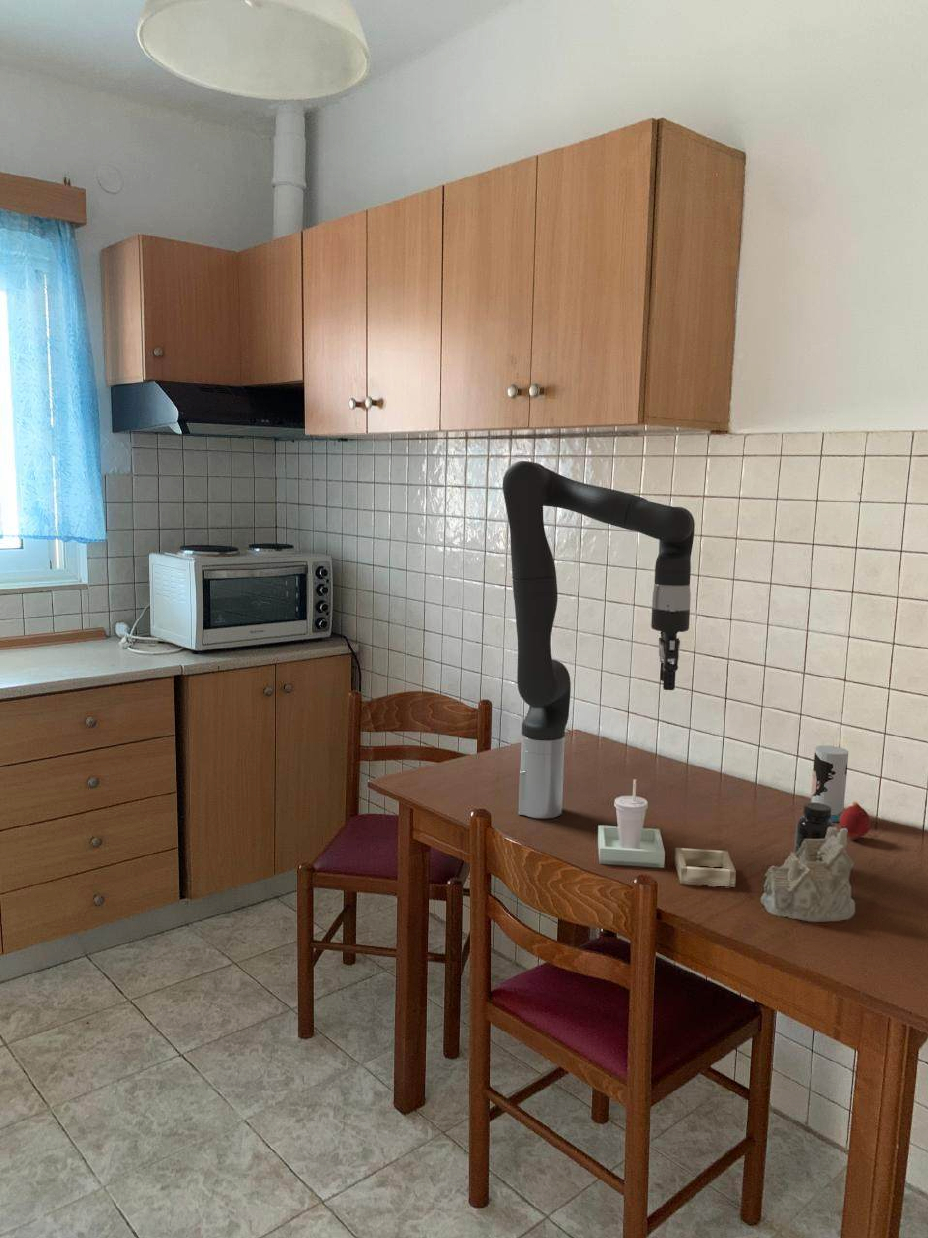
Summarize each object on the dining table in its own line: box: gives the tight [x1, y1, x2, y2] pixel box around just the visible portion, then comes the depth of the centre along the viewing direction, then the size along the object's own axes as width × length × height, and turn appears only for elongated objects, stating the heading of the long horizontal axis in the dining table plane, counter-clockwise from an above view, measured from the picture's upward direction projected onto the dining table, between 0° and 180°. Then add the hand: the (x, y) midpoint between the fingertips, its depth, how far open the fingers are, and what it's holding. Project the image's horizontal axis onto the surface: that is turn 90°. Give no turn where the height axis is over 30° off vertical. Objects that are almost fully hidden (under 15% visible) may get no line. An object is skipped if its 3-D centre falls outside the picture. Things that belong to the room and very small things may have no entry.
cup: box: [810, 744, 849, 823], centre depth 201 cm, size 7×7×15 cm
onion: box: [839, 800, 871, 840], centre depth 189 cm, size 6×6×8 cm
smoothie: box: [613, 778, 649, 849], centre depth 179 cm, size 6×6×14 cm
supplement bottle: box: [793, 802, 836, 854], centre depth 174 cm, size 7×7×12 cm
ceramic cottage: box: [760, 826, 856, 923], centre depth 160 cm, size 16×16×15 cm
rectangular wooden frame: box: [674, 847, 737, 888], centre depth 170 cm, size 10×10×3 cm
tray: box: [597, 825, 666, 869], centre depth 179 cm, size 12×12×3 cm
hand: (667, 685), depth 189 cm, fingers open, 8 cm apart
